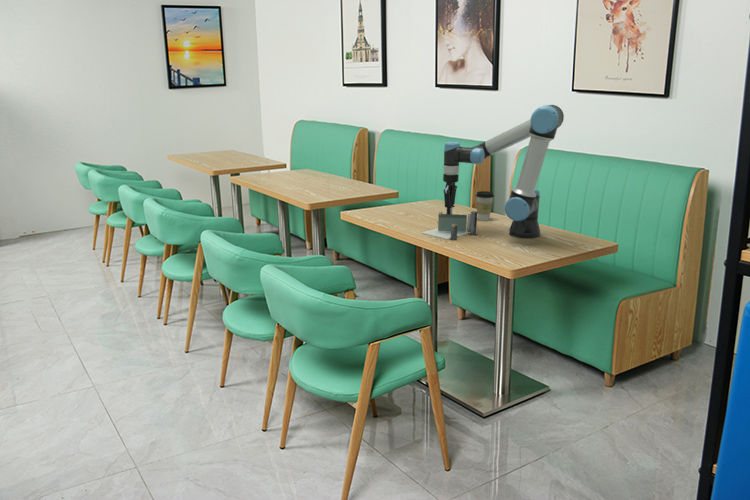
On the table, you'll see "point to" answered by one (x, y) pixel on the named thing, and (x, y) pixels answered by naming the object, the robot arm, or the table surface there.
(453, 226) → the post
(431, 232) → the mat
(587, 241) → the table surface
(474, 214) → the hinge post
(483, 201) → the coffee cup
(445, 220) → the gate
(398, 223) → the table surface
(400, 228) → the table surface
